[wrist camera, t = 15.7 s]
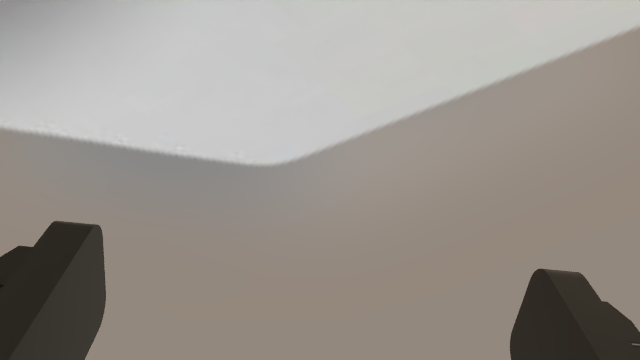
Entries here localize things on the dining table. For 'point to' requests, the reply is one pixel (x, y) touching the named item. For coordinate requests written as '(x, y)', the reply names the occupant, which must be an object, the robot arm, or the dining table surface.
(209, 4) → the dining table surface
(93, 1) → the dining table surface
